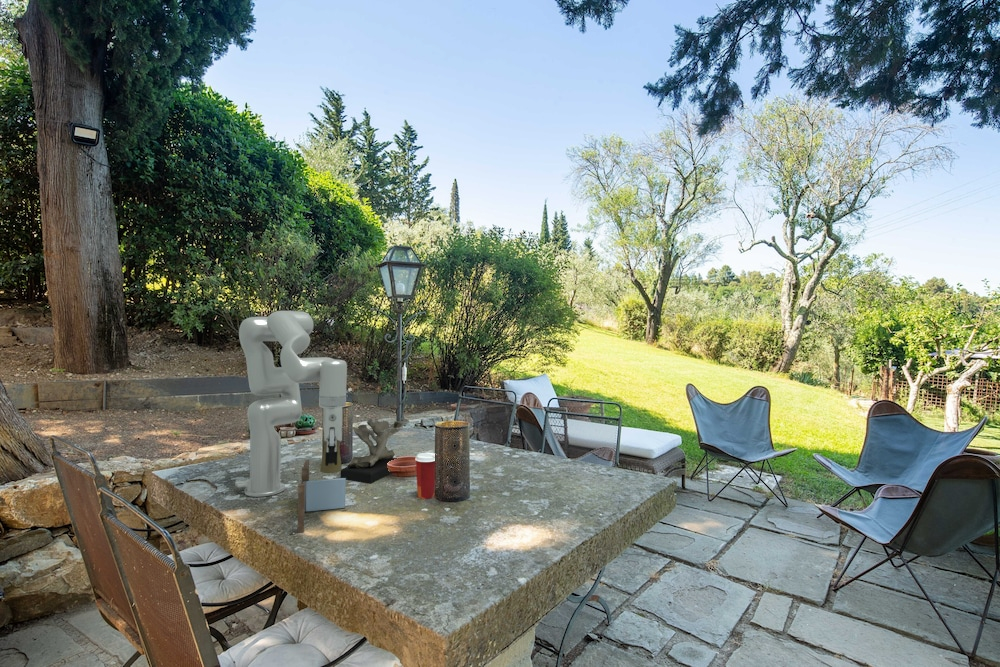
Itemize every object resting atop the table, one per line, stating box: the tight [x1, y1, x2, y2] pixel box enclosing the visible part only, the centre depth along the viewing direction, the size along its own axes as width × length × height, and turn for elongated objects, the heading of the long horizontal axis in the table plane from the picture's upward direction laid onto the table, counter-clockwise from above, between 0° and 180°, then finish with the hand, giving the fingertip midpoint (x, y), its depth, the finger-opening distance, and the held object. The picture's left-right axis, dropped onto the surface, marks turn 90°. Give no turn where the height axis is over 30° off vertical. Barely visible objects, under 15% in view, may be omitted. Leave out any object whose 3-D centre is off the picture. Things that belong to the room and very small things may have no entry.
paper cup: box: [414, 452, 436, 500], centre depth 162 cm, size 8×8×14 cm
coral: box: [339, 418, 410, 485], centre depth 187 cm, size 25×20×22 cm
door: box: [303, 477, 347, 513], centre depth 148 cm, size 1×12×9 cm, turn 109°
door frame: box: [297, 459, 310, 534], centre depth 145 cm, size 2×27×13 cm, turn 19°
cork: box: [320, 435, 343, 474], centre depth 141 cm, size 6×6×11 cm
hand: (331, 462), depth 142 cm, fingers closed on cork, 3 cm apart
